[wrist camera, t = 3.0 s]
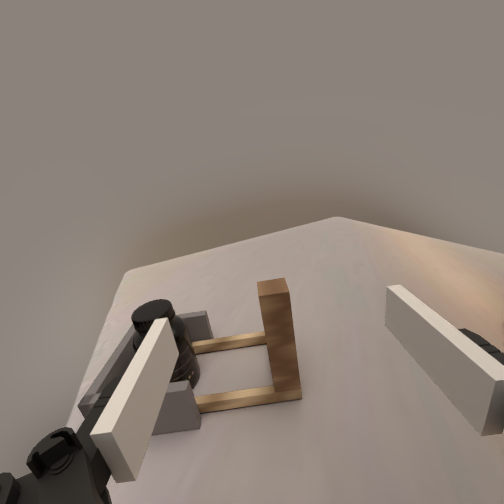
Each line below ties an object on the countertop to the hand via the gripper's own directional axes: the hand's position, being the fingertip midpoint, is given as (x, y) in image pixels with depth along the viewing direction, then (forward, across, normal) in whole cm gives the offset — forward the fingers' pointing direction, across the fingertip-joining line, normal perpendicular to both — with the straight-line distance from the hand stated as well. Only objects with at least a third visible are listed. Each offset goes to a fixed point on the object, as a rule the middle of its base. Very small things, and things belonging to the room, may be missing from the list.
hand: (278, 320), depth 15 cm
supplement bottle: (+14, -14, -18) cm, 27 cm away
